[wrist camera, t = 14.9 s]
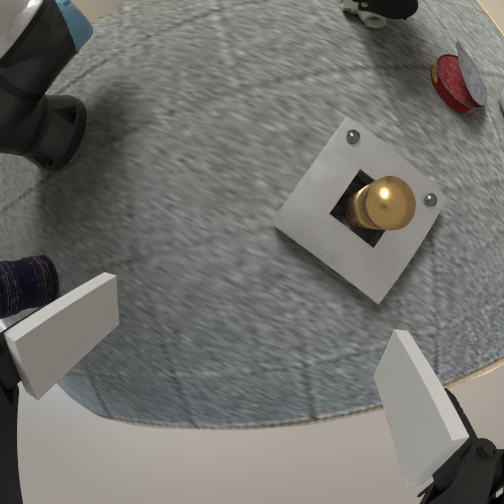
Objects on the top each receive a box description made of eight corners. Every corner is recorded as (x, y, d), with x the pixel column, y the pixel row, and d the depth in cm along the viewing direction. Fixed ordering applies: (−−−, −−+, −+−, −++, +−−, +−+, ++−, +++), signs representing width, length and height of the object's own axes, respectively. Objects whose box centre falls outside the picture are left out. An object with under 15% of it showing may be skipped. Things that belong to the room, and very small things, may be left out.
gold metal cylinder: (336, 213, 33) (357, 207, 21) (356, 184, 32) (384, 164, 20) (365, 236, 32) (398, 241, 21) (384, 206, 32) (424, 198, 20)
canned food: (435, 73, 31) (462, 39, 22) (473, 115, 30) (505, 84, 20) (411, 76, 28) (444, 32, 19) (458, 127, 27) (499, 89, 17)
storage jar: (42, 307, 44) (-10, 325, 29) (29, 264, 44) (-24, 274, 29) (65, 295, 42) (5, 314, 28) (50, 247, 42) (-11, 254, 27)
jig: (273, 223, 34) (269, 223, 30) (342, 125, 32) (347, 114, 27) (371, 297, 33) (379, 305, 29) (435, 200, 30) (449, 197, 26)
